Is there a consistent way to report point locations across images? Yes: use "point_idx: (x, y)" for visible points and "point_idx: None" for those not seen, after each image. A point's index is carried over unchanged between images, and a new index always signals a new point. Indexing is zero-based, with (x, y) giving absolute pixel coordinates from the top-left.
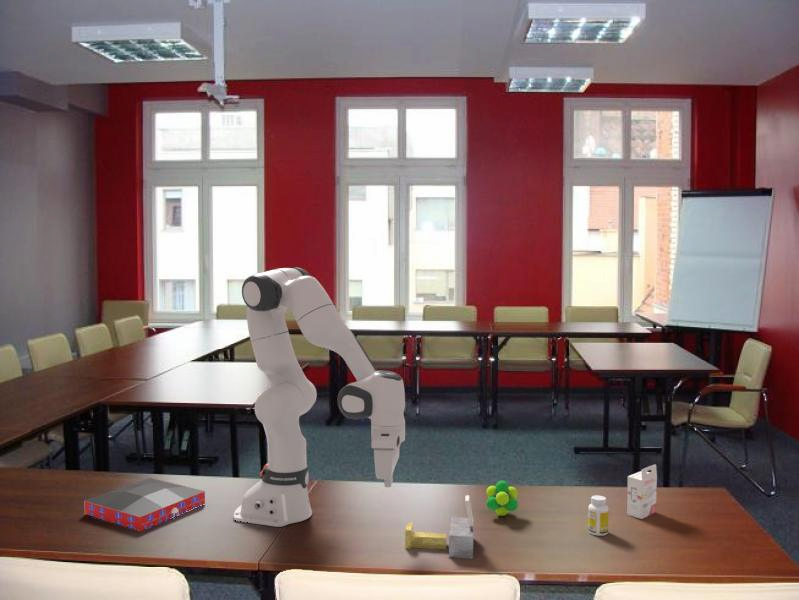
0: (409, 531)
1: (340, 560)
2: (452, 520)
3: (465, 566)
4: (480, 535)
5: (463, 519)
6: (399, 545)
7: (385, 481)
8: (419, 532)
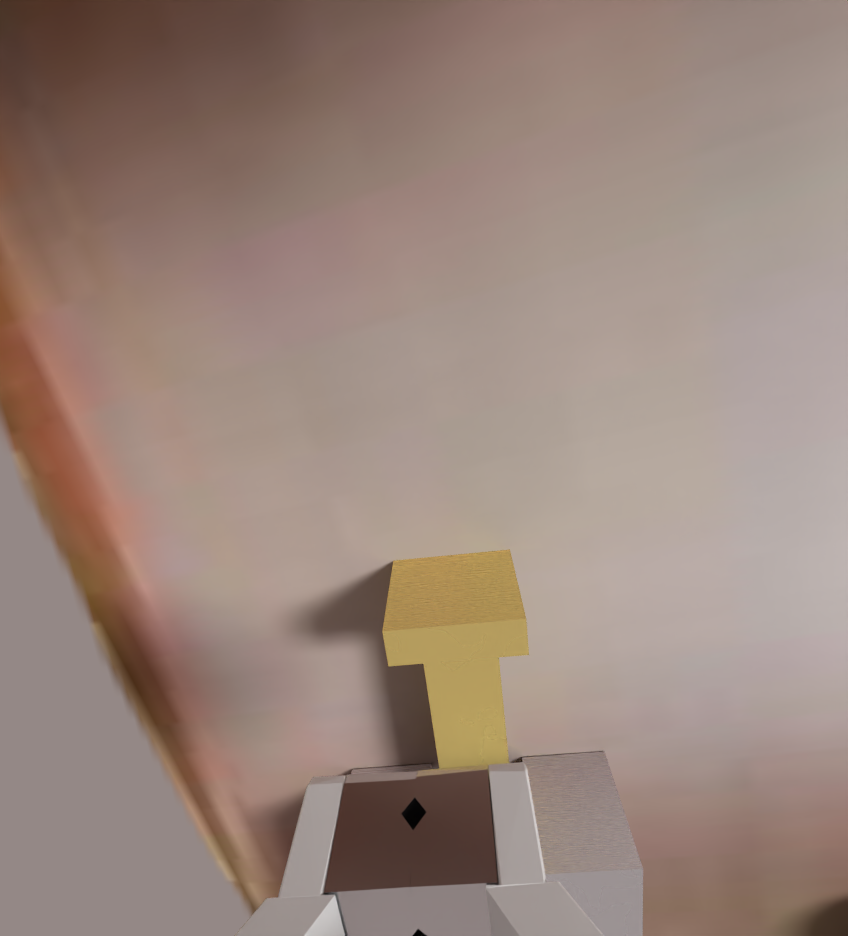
0: (387, 650)
1: (76, 203)
2: (575, 880)
3: (281, 834)
4: (652, 860)
5: (605, 926)
6: (429, 520)
7: (291, 887)
8: (493, 662)
